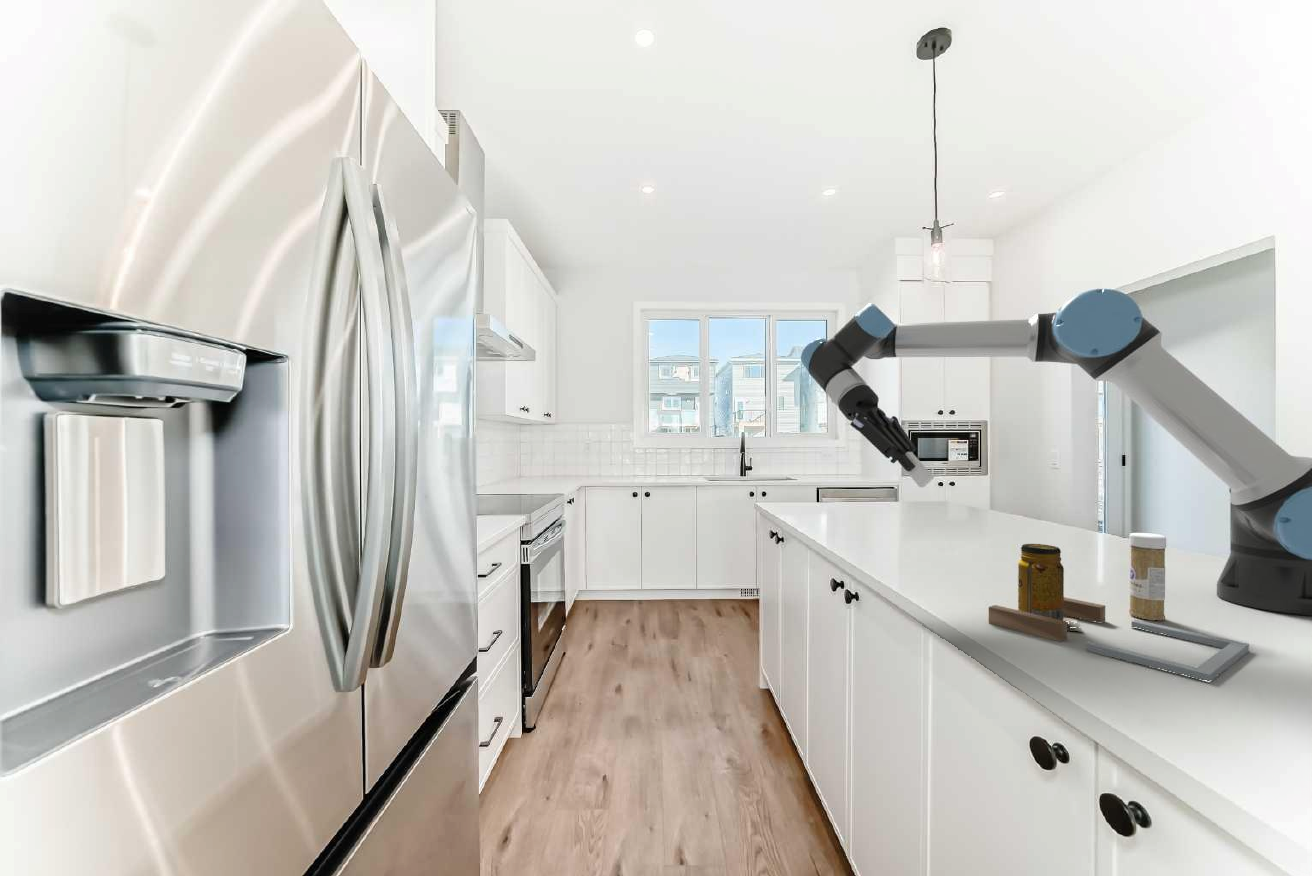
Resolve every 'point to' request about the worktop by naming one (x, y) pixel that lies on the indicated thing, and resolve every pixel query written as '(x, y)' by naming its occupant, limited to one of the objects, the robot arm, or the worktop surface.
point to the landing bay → (1204, 671)
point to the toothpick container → (1147, 576)
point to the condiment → (1042, 583)
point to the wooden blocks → (1046, 618)
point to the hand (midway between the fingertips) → (926, 482)
